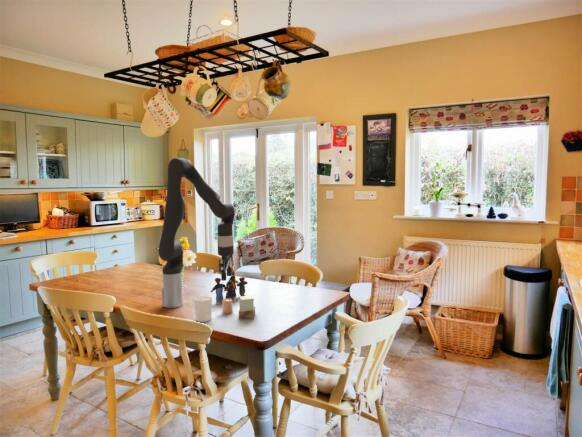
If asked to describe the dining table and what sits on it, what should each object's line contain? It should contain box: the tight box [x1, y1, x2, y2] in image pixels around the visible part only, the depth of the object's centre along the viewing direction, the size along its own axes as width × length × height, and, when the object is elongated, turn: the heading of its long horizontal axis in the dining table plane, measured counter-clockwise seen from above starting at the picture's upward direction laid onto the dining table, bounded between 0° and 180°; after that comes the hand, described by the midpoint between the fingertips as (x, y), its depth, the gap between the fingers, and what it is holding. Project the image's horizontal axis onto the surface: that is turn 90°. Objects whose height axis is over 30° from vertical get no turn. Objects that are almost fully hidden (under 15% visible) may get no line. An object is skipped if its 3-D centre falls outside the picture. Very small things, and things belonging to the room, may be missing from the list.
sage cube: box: [238, 295, 255, 312], centre depth 194 cm, size 6×6×6 cm
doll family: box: [210, 275, 248, 305], centre depth 221 cm, size 23×9×13 cm, turn 152°
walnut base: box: [238, 306, 256, 320], centre depth 195 cm, size 7×7×4 cm
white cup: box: [193, 295, 213, 323], centre depth 192 cm, size 8×8×10 cm
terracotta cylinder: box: [221, 298, 234, 315], centre depth 201 cm, size 5×5×6 cm
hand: (226, 278), depth 200 cm, fingers open, 8 cm apart
